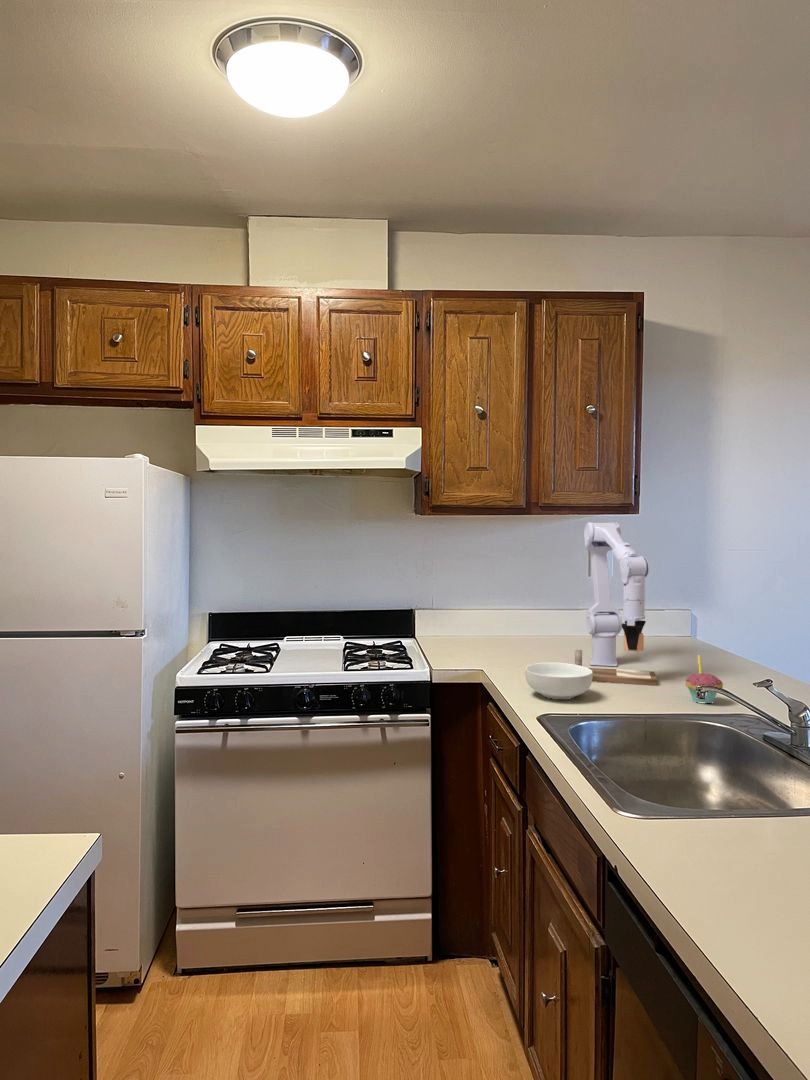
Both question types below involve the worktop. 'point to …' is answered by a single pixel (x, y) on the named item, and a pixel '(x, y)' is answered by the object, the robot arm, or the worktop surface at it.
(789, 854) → the worktop surface
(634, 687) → the worktop surface
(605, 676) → the board
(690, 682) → the cupcake
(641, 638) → the cap
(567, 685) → the cereal bowl
